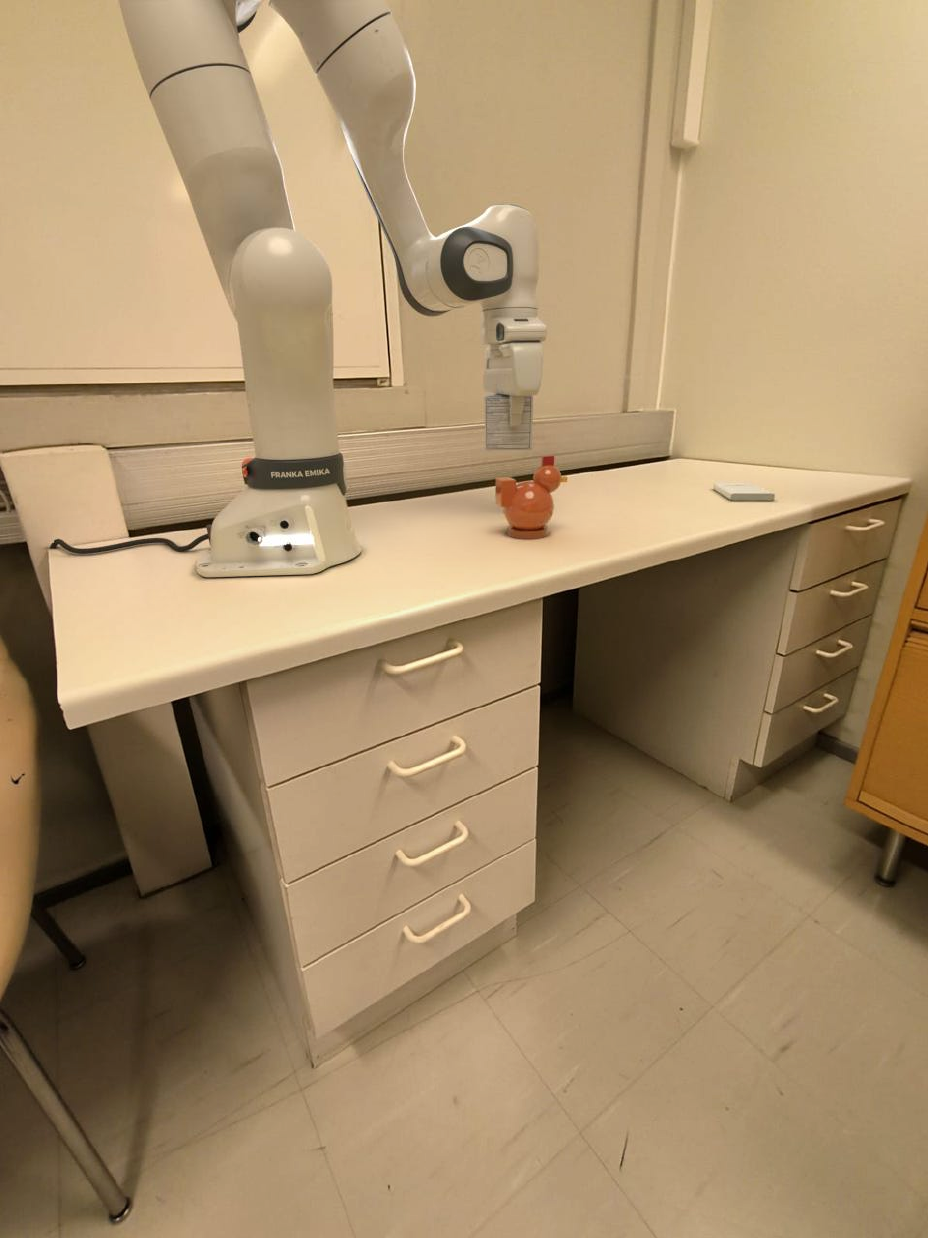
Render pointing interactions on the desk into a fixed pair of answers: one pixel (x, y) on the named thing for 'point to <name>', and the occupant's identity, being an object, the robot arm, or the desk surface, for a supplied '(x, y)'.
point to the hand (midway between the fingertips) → (508, 423)
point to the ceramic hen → (529, 500)
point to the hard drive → (743, 492)
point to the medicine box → (507, 424)
